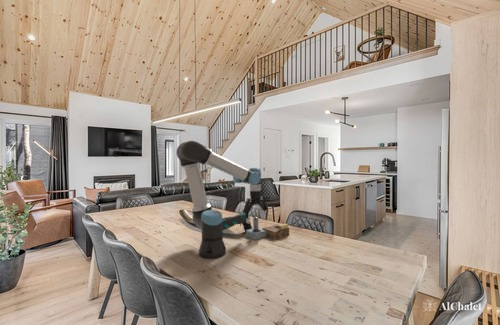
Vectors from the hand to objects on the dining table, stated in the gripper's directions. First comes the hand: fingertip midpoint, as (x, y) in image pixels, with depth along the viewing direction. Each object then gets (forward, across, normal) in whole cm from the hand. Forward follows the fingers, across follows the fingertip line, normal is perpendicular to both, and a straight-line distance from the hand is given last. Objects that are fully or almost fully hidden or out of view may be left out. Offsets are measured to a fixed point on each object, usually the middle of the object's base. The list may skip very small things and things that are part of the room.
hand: (255, 221), depth 166 cm
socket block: (+10, +12, -7) cm, 17 cm away
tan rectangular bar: (+5, +15, -12) cm, 19 cm away
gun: (+11, -8, +19) cm, 23 cm away
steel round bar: (+10, 0, 0) cm, 10 cm away
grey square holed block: (+10, 0, 0) cm, 10 cm away
